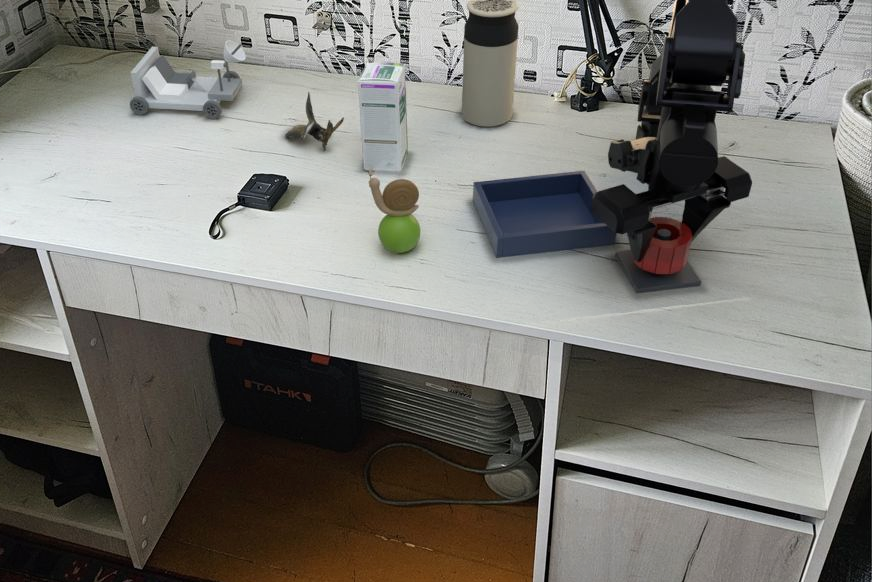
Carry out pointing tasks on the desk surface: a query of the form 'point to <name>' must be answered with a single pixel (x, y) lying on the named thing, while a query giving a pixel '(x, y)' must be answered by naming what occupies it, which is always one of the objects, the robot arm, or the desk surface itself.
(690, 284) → the ring stand
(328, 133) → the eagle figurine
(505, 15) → the travel mug
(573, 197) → the box
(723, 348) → the desk surface
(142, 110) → the toy buggy
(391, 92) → the syrup box
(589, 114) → the desk surface
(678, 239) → the ring
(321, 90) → the desk surface
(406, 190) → the snail figurine
